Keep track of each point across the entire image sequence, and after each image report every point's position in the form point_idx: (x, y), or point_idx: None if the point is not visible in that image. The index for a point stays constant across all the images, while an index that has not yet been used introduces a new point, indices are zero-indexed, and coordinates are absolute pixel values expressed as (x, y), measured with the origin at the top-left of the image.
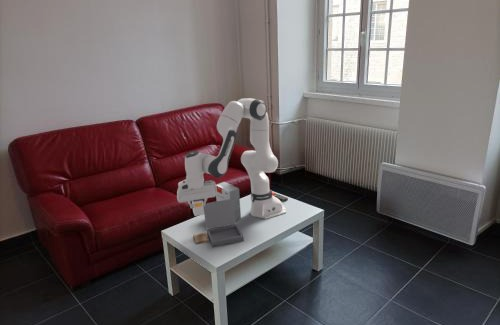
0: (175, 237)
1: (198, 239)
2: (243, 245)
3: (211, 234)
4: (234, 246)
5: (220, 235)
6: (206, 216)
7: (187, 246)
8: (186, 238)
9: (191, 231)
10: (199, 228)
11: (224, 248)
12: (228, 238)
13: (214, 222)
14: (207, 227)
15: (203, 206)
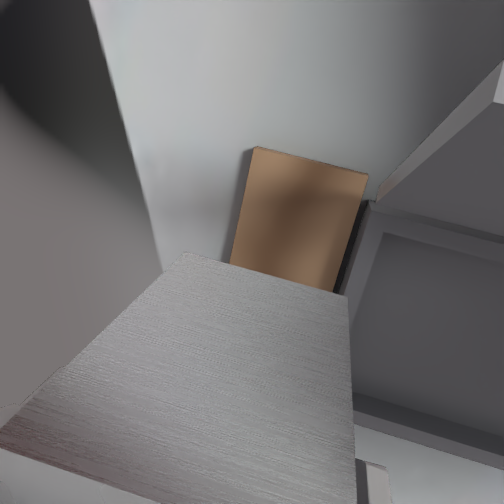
0: (118, 63)
1: (258, 250)
2: (500, 493)
3: (389, 243)
4: (441, 464)
5: (443, 307)
6: (431, 181)
7: (164, 263)
8: (193, 141)
9: (276, 35)
10: (370, 18)
11: (369, 441)
12: (442, 446)
13: (488, 220)
14: (387, 204)
15: (471, 123)
